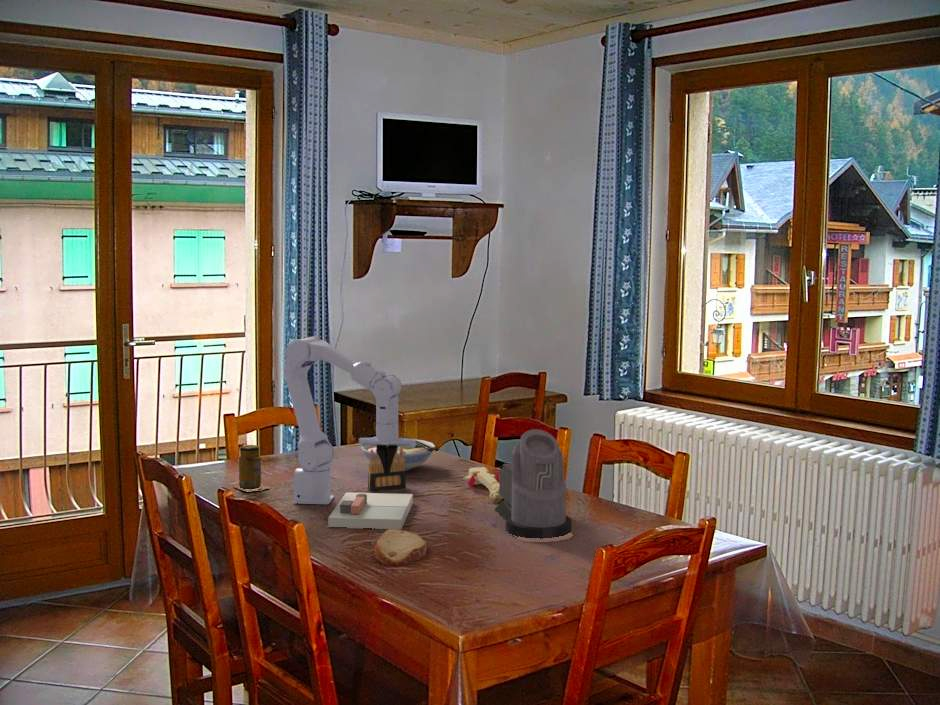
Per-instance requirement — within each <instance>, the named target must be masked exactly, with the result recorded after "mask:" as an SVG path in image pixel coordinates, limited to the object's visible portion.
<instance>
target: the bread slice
mask: <svg viewBox="0 0 940 705" xmlns="http://www.w3.org/2000/svg"><path fill="white" fill-rule="evenodd" d="M427 547H428V545H427V541H426V540H424V539H422V537H421V536H420V535H418V534H416V533H414V532H411V531H407V530H402V529H386V531H384V532H383V533H382V534H381V535H380V537H379V538H378V540H377V542H376V543H375V546H374V550H373V553H374V557H375V559H376V560H377V561H378V562H380V564H383V565H384V564H385V566H388V567H401V566H403V565H404V566H408V564H409V565H410V564H413V563H415V562H418V561H420V560H422V559H423V558H424V557H425V556H426V555H427V554H426V553H427V551H428V550H427V549H428V548H427Z"/></svg>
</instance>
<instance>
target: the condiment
mask: <svg viewBox="0 0 940 705" xmlns="http://www.w3.org/2000/svg"><path fill="white" fill-rule="evenodd" d="M239 450H240V452H239V456H238V483H239V484H238V486H240V488H243V489H255V488H259V487H260V486H262V458H261V455H260V447H259V445H256V444H254V445H253V444H245V445H242V446H241V447H240V448H239Z"/></svg>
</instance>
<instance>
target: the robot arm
mask: <svg viewBox="0 0 940 705" xmlns="http://www.w3.org/2000/svg"><path fill="white" fill-rule="evenodd" d="M284 355H285V364H284V371H283V372H284V377H285V381H286V384H287V388H288V392H289V396H290V400H291V403H292V407H293V408H292V409H293V411H294V415H295V418H296V423H297V426H298V430H299V433H300V438H299V440H298V442H297V448H298V452H297V453H298V455H297V461H298V463H299V464H298V465H299V466H300V467H298V468H296V469H295V471H294V474H293V475H294V476H293V504H297V503H298V504H297V505H299V504H300V505H329V504H330V503H331V501H332V500H333V499H334V497H335V496H334V495H333V494H331V462H332V461H333V459H334V458H335V448H334V447H333V445H332V444H331V442H330V441H329V438H328V435H327V434H326V433H324V432H323V431H322V429H321V427H320V426H321V425H320V422H319V418H318V416H317V411H316V407H315V403H314V399H313V396H312V393H311V388H310V384H309V380H308V376H307V373H308V371H309V370H310V368H311V367H312V365H314V364H315V363H316V362H317V361H318V362H320V361H321V362H322V361H325V362H327V363H328V364H331V365H333V366H335V367H337V368H338V369H341V370H342V371H344V372H346V373H348V374H350V378H351V381H353V382H355V383H357V384H358V385H360V386H362V387H363V388H365V389H367V390H369V391H370V392H371V393H372V395H373V397H374V398H375V401H376V403H375V404H376V405H375V409H376V410H375V412H376V414H375V417H376V418H375V422H376V423H375V431H376V432H375V435H376V436H375V437H359V439H358V447H360V448H361V447H363V446H377V449H376V451H377V454H378V456H379V458H380V460H381V463H382V466H383V470H384V475H390V472H391V466H392V462H393V459H394V456H395V454H396V451H397V449H398V447H411V448H415V439H416V438H411V439H407V438H404V437H399V395H400V393H401V392H402V382H401V380H400V379H399V377H397V376H396V375H395V374H387V372H386V371H384V370H382V371H381V370H379V369H378V368H376V367H374V366H373V365H372V362H370V361H367V360H366V361H363V360H362V361H358V362H357V361H355V360H354V359H352V358H351V357H349V356H347V355H346V354H344V353H342V352H341V351H339V350H338V349H337V348H335V347H333V346H332V345H331V344H330V343H328V342H327V341H326V340H325V339H324V340H323V339H321V338H319V337H318V336H315V335H314V336H309V337H306V338H301V339H300V338H299V339H298V338H297V339H293V340H291V342H290V343H289V344H288V346H287V347H286V348H285V350H284Z"/></svg>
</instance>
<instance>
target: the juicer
mask: <svg viewBox="0 0 940 705" xmlns="http://www.w3.org/2000/svg"><path fill="white" fill-rule="evenodd" d="M519 440H520V441H519V442H520V443H518V444H516V445H515V446H514V448H513V450H512V454H511V462H510V463H503V464H502V468H500V469H499V474H500V493H499V494H500V495H501V496H502V497H503V499H505V500H502V501H500V502H499V503H498V505H497V506H496V507H494V509H495V510H494V512H495V513H497V512H498V513H499V515H500V516H501V517H503V519H505V520H506V522H505V532H506V531H507V532H508V533H509V534H512V535H515V536H517V537H519V536H520V537H525V538H540V539H541V538H542V539H543V538H552V537H553V538H554V537H559V536H564V535H566V534H568V533H570V532H571V533H572V518H571V517H570V516H568V515H566V513H567V511H566V510H567V484H566V483H567V482H566V481H565V471H564V470H565V469H564V460H563V459H564V457H563V452H562V451H561V449H560V445H559V442H558V440H557V439H556V438H555V437H554V436H553V435H552V434H551V433H549V432H547V431H545V430H542V429H539V428H538V429H537V428H534V429H529V430H527V431H525V432H523V433H522V435H521V436H520V439H519ZM498 513H497V514H498ZM499 515H498V516H499ZM500 516H499V517H500ZM501 517H500V518H501ZM503 519H502V520H503ZM507 532H506V533H507ZM509 534H508V535H509Z"/></svg>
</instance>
